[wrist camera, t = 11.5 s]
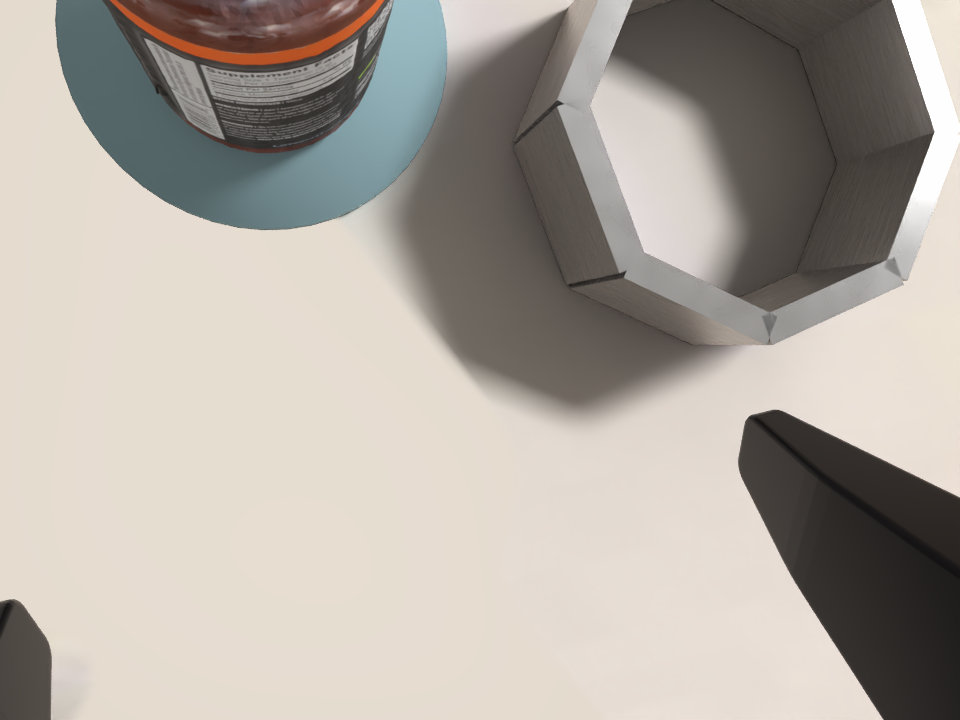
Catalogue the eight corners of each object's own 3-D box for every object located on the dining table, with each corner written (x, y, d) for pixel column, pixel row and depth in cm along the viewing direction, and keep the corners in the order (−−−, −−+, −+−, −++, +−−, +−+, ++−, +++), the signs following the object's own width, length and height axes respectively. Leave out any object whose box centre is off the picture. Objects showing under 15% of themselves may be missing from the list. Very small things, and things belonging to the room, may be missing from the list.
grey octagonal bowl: (604, 385, 24) (664, 394, 20) (471, 38, 23) (507, -25, 19) (891, 257, 26) (996, 241, 22) (782, -66, 25) (873, -143, 21)
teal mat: (156, 284, 21) (154, 283, 20) (-8, -88, 20) (-14, -96, 19) (496, 158, 23) (500, 155, 22) (363, -186, 22) (364, -196, 21)
